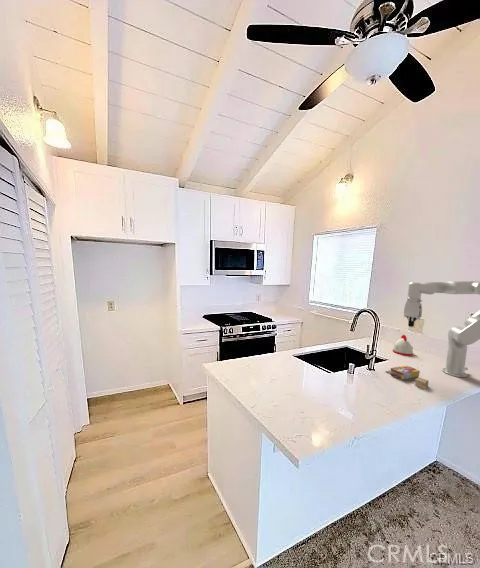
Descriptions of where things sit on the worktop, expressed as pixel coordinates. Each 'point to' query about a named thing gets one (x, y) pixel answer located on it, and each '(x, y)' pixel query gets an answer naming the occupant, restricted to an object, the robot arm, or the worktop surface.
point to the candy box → (404, 372)
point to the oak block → (421, 382)
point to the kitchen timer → (403, 347)
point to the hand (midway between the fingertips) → (410, 326)
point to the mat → (404, 379)
